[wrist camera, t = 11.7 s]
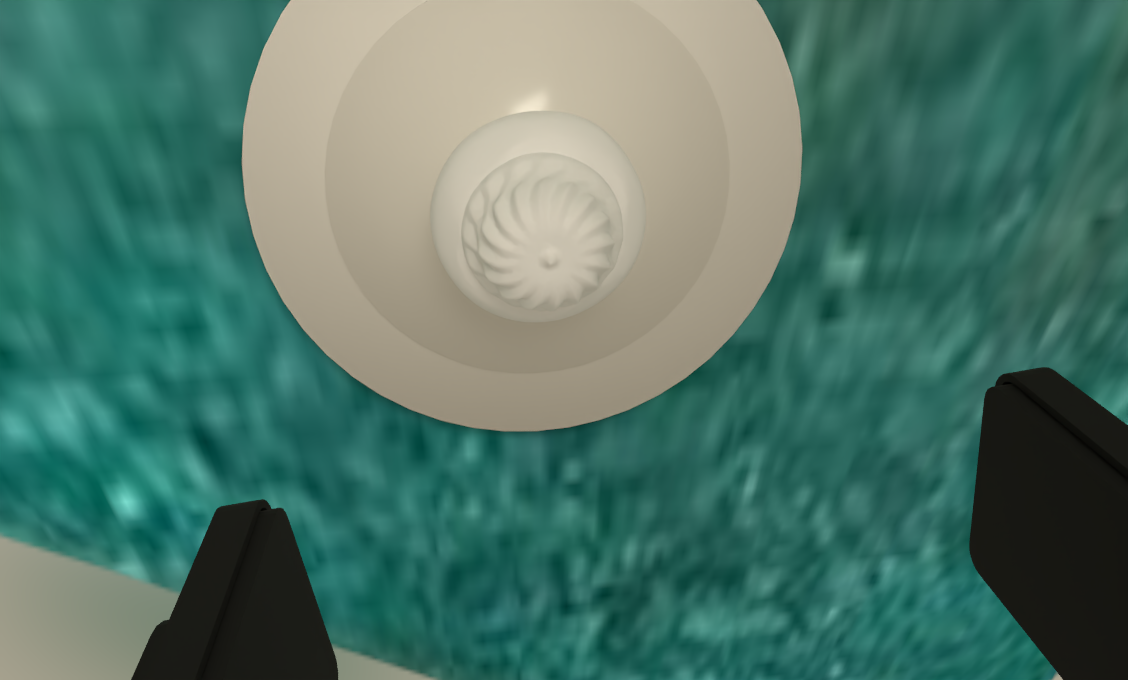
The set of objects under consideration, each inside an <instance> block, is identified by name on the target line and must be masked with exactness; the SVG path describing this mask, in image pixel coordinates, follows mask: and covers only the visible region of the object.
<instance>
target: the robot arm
mask: <svg viewBox="0 0 1128 680" xmlns="http://www.w3.org/2000/svg"><path fill="white" fill-rule="evenodd" d="M969 548H970V555H971V558H972V562H973V564H974V566H975V568H976V570H977V572H978V573H979V574H980V576H981V577H982V578H983V580H984V581H985V582H986V583H987V585H988V586H989V587H990V588H991V590H992V591H993V592H994V593H995V595H996V596H997V597H998V598H999V600H1000V601H1001V602H1002V603H1003V605H1004V606H1005V607H1006V608H1007V610H1008V611H1009V612H1010V613H1011V615H1012V616H1013V617H1014V618H1015V620H1016V621H1017V622H1018V623H1019V625H1020V626H1021V627H1022V628H1023V630H1024V631H1025V632H1026V633H1027V635H1028V636H1029V637H1030V638H1031V640H1032V641H1033V642H1034V643H1035V645H1036V646H1037V647H1038V649H1039V650H1040V651H1041V652H1042V654H1043V655H1044V656H1045V657H1046V659H1047V660H1048V661H1049V662H1050V664H1051V665H1052V666H1053V667H1054V669H1055V670H1056V671H1057V672H1058V674H1059V675H1060V676H1061V677H1062V679H1063V680H1128V425H1126V424H1125V423H1124V422H1122V421H1121V420H1120V419H1118V418H1117V417H1116V416H1114V415H1113V414H1112V413H1110V412H1109V411H1108V410H1106V409H1105V408H1104V407H1102V406H1101V405H1100V404H1098V403H1097V402H1096V401H1094V400H1093V399H1092V398H1090V397H1089V396H1088V395H1086V394H1085V393H1084V392H1082V391H1081V390H1080V389H1078V388H1077V387H1076V386H1074V385H1073V384H1072V383H1070V382H1069V381H1068V380H1066V379H1065V378H1064V377H1062V376H1061V375H1060V374H1058V373H1057V372H1056V371H1054V370H1052V369H1050V368H1046V367H1042V368H1036V369H1030V370H1024V371H1018V372H1013V373H1007V374H1003V375H1001V376H1000V377H999V378H998V380H997V381H996V384H995V387H991V388H989V389H988V390H987V392H986V394H985V398H984V407H983V417H982V426H981V436H980V446H979V455H978V465H977V475H976V485H975V494H974V504H973V514H972V524H971V533H970V543H969ZM131 680H338V668H337V662H336V658H335V654H334V651H333V648H332V645H331V642H330V640H329V637H328V634H327V631H326V628H325V625H324V622H323V619H322V616H321V613H320V610H319V607H318V604H317V601H316V599H315V596H314V593H313V590H312V587H311V584H310V581H309V578H308V575H307V572H306V569H305V566H304V563H303V561H302V558H301V555H300V552H299V549H298V546H297V543H296V540H295V537H294V534H293V531H292V528H291V525H290V522H289V520H288V517H287V514H286V512H285V511H284V509H282V508H276V509H271V507H270V505H269V503H268V502H267V501H266V500H263V499H262V500H256V501H250V502H244V503H238V504H232V505H226V506H221V507H219V508H218V509H217V510H216V512H215V513H214V516H213V518H212V520H211V523H210V525H209V527H208V530H207V532H206V534H205V537H204V539H203V541H202V544H201V546H200V549H199V551H198V553H197V556H196V558H195V560H194V563H193V565H192V567H191V570H190V572H189V574H188V577H187V579H186V581H185V584H184V586H183V588H182V591H181V593H180V596H179V598H178V600H177V603H176V605H175V607H174V610H173V612H172V614H171V617H170V619H169V620H165V621H163V622H161V623H160V624H159V625H157V626H156V628H155V630H154V631H153V633H152V634H151V636H150V638H149V641H148V643H147V645H146V648H145V650H144V652H143V654H142V657H141V659H140V661H139V663H138V666H137V668H136V670H135V672H134V675H133V677H132V679H131Z"/></svg>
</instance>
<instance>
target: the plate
mask: <svg viewBox="0 0 1128 680" xmlns="http://www.w3.org/2000/svg"><path fill="white" fill-rule="evenodd" d="M529 111H557V112H565V113H569V114H573V115H577V116H580V117H582V118H585V119H587V120H589V121H591V122H593V123H595V124H596V125H598V126H599V127H601V128H602V129H603V130H604V131H606V132H607V133H608V134H609V135H610V136H611V137H612V138H613V139H614V140H615V141H616V142H617V143H618V144H619V146H620V147H621V148H622V150H623V151H624V152H625V154H626V155H627V157H628V158H629V160H630V162H631V163H632V165H633V167H634V169H635V171H636V173H637V175H638V177H639V180H640V183H641V186H642V189H643V193H644V198H645V205H646V226H645V233H644V238H643V242H642V246H641V249H640V251H639V254H638V257H637V259H636V261H635V263H634V265H633V267H632V268H631V270H630V272H629V273H628V275H627V276H626V277H625V279H624V280H623V281H622V282H621V284H620V285H619V286H618V287H617V288H616V289H615V290H614V291H613V292H611V293H610V294H609V295H608V296H607V297H605V298H604V299H603V300H601V301H600V302H598V303H597V304H595V305H594V306H592V307H590V308H588V309H586V310H584V311H582V312H580V313H578V314H576V315H573V316H570V317H567V318H564V319H560V320H555V321H549V322H521V321H515V320H510V319H506V318H503V317H500V316H497V315H494V314H492V313H490V312H488V311H486V310H484V309H483V308H481V307H479V306H478V305H476V304H475V303H474V302H472V301H471V300H470V299H469V298H468V297H466V296H465V295H464V294H463V293H462V292H461V290H460V289H459V288H458V287H457V286H456V285H455V283H454V282H453V281H452V279H451V278H450V276H449V275H448V273H447V272H446V270H445V269H444V267H443V265H442V263H441V261H440V259H439V257H438V254H437V251H436V248H435V245H434V242H433V238H432V232H431V224H430V208H431V201H432V196H433V191H434V188H435V185H436V182H437V179H438V176H439V174H440V172H441V170H442V168H443V166H444V164H445V163H446V161H447V159H448V158H449V157H450V155H451V154H452V152H453V151H454V150H455V149H456V147H457V146H458V145H459V144H460V143H461V142H462V141H463V140H464V139H465V138H466V137H468V136H469V135H470V134H471V133H473V132H474V131H476V130H477V129H479V128H480V127H482V126H484V125H486V124H487V123H489V122H492V121H494V120H496V119H499V118H502V117H505V116H508V115H512V114H516V113H521V112H529ZM801 162H802V138H801V125H800V112H799V108H798V103H797V98H796V93H795V89H794V84H793V79H792V75H791V73H790V70H789V67H788V64H787V61H786V59H785V56H784V53H783V50H782V47H781V44H780V42H779V40H778V38H777V36H776V34H775V32H774V30H773V28H772V26H771V24H770V23H769V21H768V19H767V17H766V15H765V13H764V11H763V9H762V7H761V6H760V5H759V3H758V2H757V0H291V1H290V2H289V3H288V5H287V6H286V8H285V9H284V10H283V12H282V14H281V15H280V17H279V19H278V21H277V23H276V25H275V27H274V29H273V31H272V33H271V35H270V37H269V39H268V41H267V43H266V45H265V47H264V49H263V52H262V55H261V58H260V61H259V64H258V67H257V70H256V72H255V75H254V78H253V81H252V84H251V88H250V93H249V99H248V104H247V109H246V114H245V120H244V127H243V148H242V170H243V181H244V192H245V201H246V206H247V210H248V214H249V219H250V223H251V227H252V231H253V236H254V239H255V241H256V244H257V247H258V249H259V252H260V254H261V257H262V260H263V262H264V265H265V268H266V270H267V272H268V274H269V276H270V278H271V280H272V281H273V283H274V285H275V287H276V289H277V291H278V293H279V295H280V296H281V298H282V300H283V302H284V303H285V305H286V306H287V307H288V309H289V310H290V312H291V313H292V314H293V316H294V317H295V319H296V320H297V321H298V323H299V324H300V326H301V327H302V328H303V330H304V331H305V332H306V333H307V334H308V335H309V336H310V337H311V338H312V340H313V341H314V342H315V343H316V344H317V345H318V346H319V347H320V348H321V349H322V350H323V351H324V352H325V354H326V355H327V356H329V357H330V358H331V359H332V360H333V361H335V362H336V363H337V364H338V365H339V366H341V367H342V368H343V369H344V370H345V371H346V372H348V373H349V374H350V375H351V376H352V377H354V378H355V379H357V380H358V381H360V382H361V383H363V384H365V385H366V386H368V387H369V388H371V389H372V390H374V391H375V392H377V393H378V394H380V395H382V396H384V397H386V398H388V399H390V400H392V401H394V402H396V403H398V404H400V405H402V406H404V407H406V408H408V409H410V410H413V411H416V412H418V413H421V414H424V415H427V416H430V417H432V418H435V419H438V420H441V421H445V422H450V423H454V424H458V425H463V426H467V427H471V428H480V429H489V430H497V431H542V430H550V429H559V428H568V427H572V426H576V425H581V424H585V423H589V422H594V421H598V420H601V419H604V418H607V417H610V416H612V415H615V414H618V413H621V412H624V411H627V410H629V409H631V408H633V407H635V406H637V405H640V404H642V403H644V402H646V401H648V400H650V399H652V398H654V397H656V396H658V395H660V394H661V393H663V392H664V391H666V390H667V389H669V388H671V387H672V386H674V385H675V384H677V383H678V382H680V381H682V380H683V379H685V378H686V377H687V376H688V375H690V374H691V373H692V372H693V371H695V370H696V369H697V368H698V367H700V366H701V365H702V364H703V363H705V362H706V361H707V360H708V359H710V358H711V357H712V356H713V355H714V354H715V353H716V352H717V351H718V350H719V348H720V347H721V346H722V345H723V344H724V343H725V342H726V341H727V340H728V339H729V338H730V337H731V336H732V335H733V334H734V333H735V332H736V330H737V329H738V328H739V326H740V325H741V324H742V323H743V321H744V320H745V319H746V317H747V316H748V315H749V314H750V312H751V311H752V310H753V308H754V307H755V305H756V303H757V302H758V300H759V298H760V297H761V295H762V293H763V292H764V290H765V288H766V287H767V285H768V283H769V282H770V280H771V278H772V275H773V273H774V271H775V269H776V267H777V264H778V262H779V260H780V258H781V256H782V253H783V251H784V249H785V245H786V242H787V239H788V236H789V233H790V229H791V226H792V223H793V220H794V216H795V210H796V205H797V199H798V194H799V188H800V181H801Z"/></svg>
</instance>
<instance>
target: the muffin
mask: <svg viewBox="0 0 1128 680" xmlns="http://www.w3.org/2000/svg"><path fill="white" fill-rule="evenodd" d="M430 224H431V232H432V238H433V242H434V245H435V248H436V251H437V254H438V257H439V259H440V261H441V263H442V265H443V267H444V269H445V270H446V272H447V273H448V275H449V276H450V278H451V279H452V281H453V282H454V283H455V285H456V286H457V287H458V288H459V289H460V290H461V292H462V293H463V294H464V295H465V296H466V297H468V298H469V299H470V300H471V301H472V302H474V303H475V304H476V305H478V306H479V307H481V308H483V309H484V310H486V311H488V312H490V313H492V314H494V315H497V316H500V317H503V318H506V319H510V320H515V321H521V322H549V321H555V320H560V319H564V318H567V317H570V316H573V315H576V314H578V313H580V312H582V311H584V310H586V309H588V308H590V307H592V306H594V305H595V304H597V303H598V302H600V301H601V300H603V299H604V298H605V297H607V296H608V295H609V294H610V293H611V292H613V291H614V290H615V289H616V288H617V287H618V286H619V285H620V284H621V282H622V281H623V280H624V279H625V277H626V276H627V275H628V273H629V272H630V270H631V268H632V267H633V265H634V263H635V261H636V259H637V257H638V254H639V251H640V249H641V246H642V242H643V238H644V233H645V226H646V205H645V198H644V193H643V189H642V186H641V183H640V180H639V177H638V175H637V173H636V171H635V169H634V167H633V165H632V163H631V162H630V160H629V158H628V157H627V155H626V154H625V152H624V151H623V150H622V148H621V147H620V146H619V144H618V143H617V142H616V141H615V140H614V139H613V138H612V137H611V136H610V135H609V134H608V133H607V132H606V131H604V130H603V129H602V128H601V127H599V126H598V125H596V124H595V123H593V122H591V121H589V120H587V119H585V118H582V117H580V116H577V115H573V114H569V113H565V112H557V111H529V112H521V113H516V114H512V115H508V116H505V117H502V118H499V119H496V120H494V121H492V122H489V123H487V124H486V125H484V126H482V127H480V128H479V129H477V130H476V131H474V132H473V133H471V134H470V135H469V136H468V137H466V138H465V139H464V140H463V141H462V142H461V143H460V144H459V145H458V146H457V147H456V149H455V150H454V151H453V152H452V154H451V155H450V157H449V158H448V159H447V161H446V163H445V164H444V166H443V168H442V170H441V172H440V174H439V176H438V179H437V182H436V185H435V188H434V191H433V196H432V201H431V208H430Z"/></svg>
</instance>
